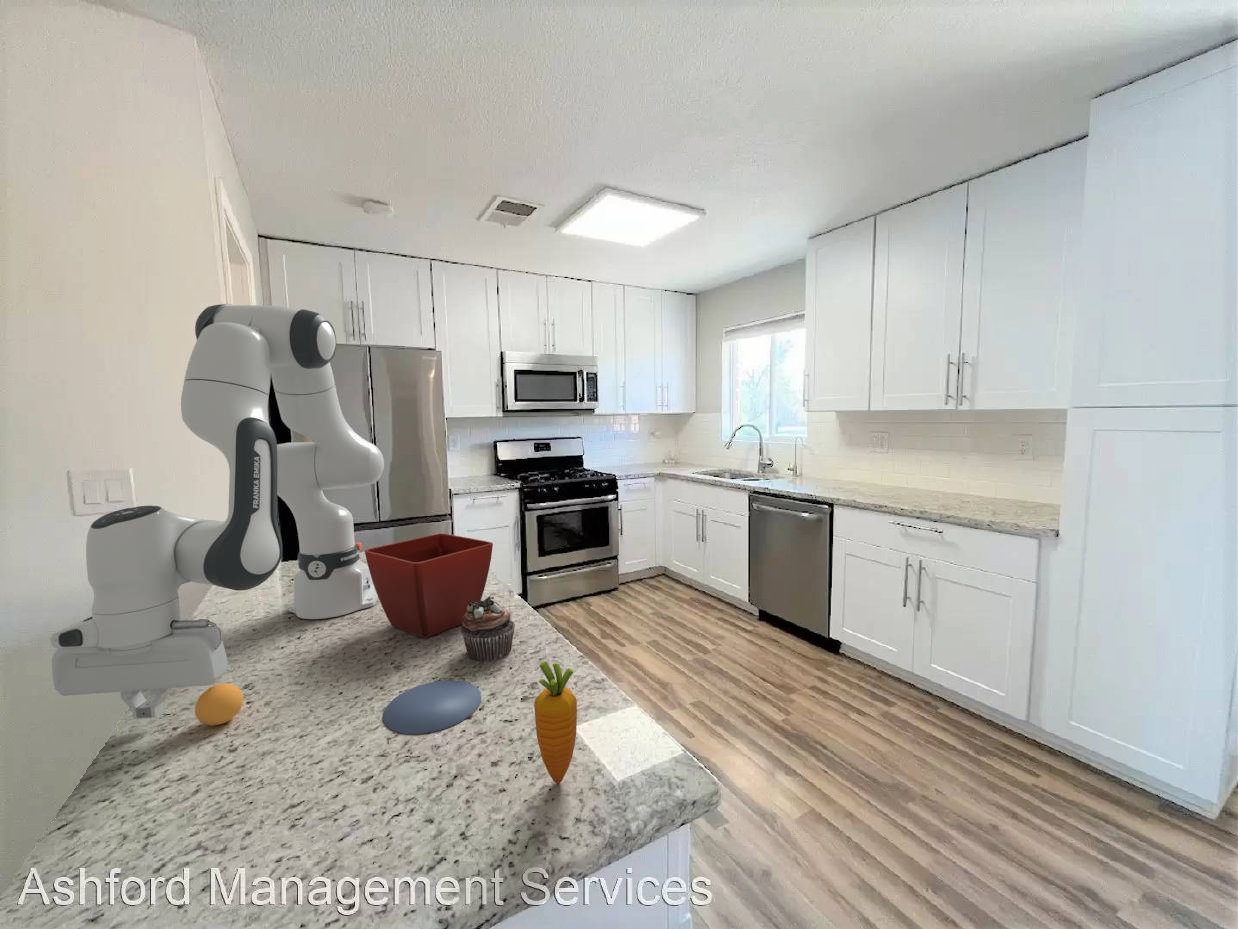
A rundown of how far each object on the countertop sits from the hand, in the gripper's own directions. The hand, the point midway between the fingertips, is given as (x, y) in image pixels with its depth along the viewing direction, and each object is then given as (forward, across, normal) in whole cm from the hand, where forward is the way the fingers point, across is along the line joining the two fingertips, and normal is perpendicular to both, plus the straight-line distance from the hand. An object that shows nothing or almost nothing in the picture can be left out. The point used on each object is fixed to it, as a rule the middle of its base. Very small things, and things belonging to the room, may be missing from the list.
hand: (149, 716), depth 72 cm
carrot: (+2, -58, +19) cm, 61 cm away
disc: (+2, -39, 0) cm, 39 cm away
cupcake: (+2, -45, -17) cm, 49 cm away
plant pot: (+2, -31, -33) cm, 46 cm away
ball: (-1, -9, 0) cm, 9 cm away
